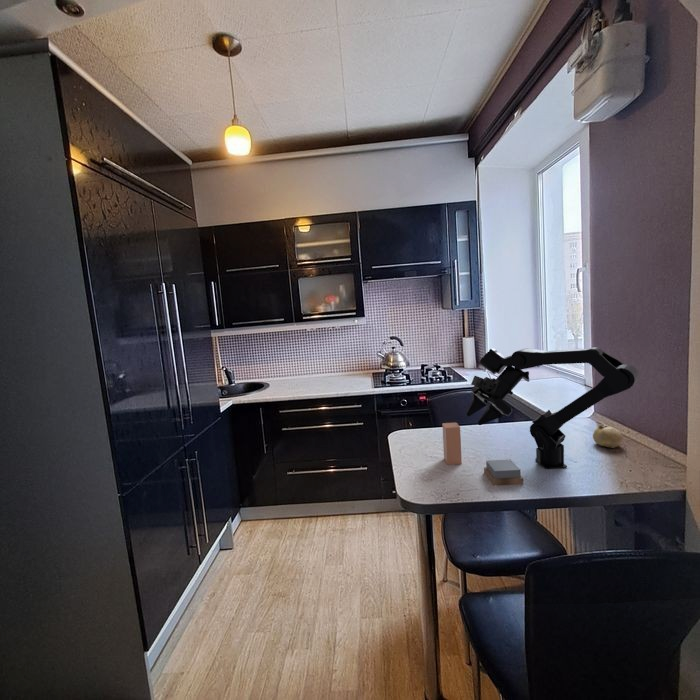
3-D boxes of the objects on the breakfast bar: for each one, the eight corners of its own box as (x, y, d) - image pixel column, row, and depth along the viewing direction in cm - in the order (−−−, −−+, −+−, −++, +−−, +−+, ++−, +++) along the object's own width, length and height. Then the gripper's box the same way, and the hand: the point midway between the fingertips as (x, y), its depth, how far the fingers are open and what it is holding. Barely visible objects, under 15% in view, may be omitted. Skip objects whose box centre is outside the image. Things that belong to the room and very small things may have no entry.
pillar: (457, 457, 120) (456, 422, 119) (461, 463, 116) (460, 427, 115) (444, 458, 121) (442, 423, 119) (447, 464, 116) (445, 427, 115)
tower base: (511, 472, 109) (511, 465, 109) (523, 486, 101) (523, 478, 101) (484, 474, 109) (483, 467, 109) (493, 487, 101) (493, 479, 101)
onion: (613, 440, 125) (613, 420, 124) (628, 450, 117) (628, 428, 116) (588, 441, 126) (588, 421, 125) (601, 450, 118) (601, 429, 117)
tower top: (510, 466, 108) (510, 459, 108) (520, 477, 101) (520, 469, 101) (486, 467, 108) (486, 460, 108) (494, 478, 102) (494, 471, 101)
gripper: (475, 362, 125) (444, 396, 126) (500, 371, 106) (464, 412, 107) (498, 383, 126) (468, 417, 127) (528, 395, 108) (492, 435, 108)
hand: (472, 419), depth 117 cm, fingers open, 9 cm apart
